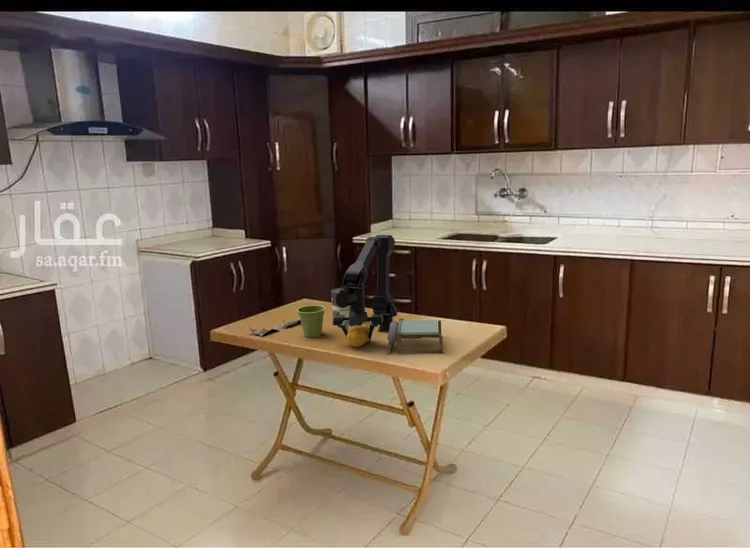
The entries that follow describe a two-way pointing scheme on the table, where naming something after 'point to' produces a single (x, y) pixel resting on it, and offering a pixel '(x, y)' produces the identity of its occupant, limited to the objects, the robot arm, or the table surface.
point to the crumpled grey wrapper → (278, 327)
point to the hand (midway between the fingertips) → (359, 341)
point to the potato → (358, 335)
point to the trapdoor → (411, 328)
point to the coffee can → (336, 308)
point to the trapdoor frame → (399, 336)
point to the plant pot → (311, 319)
